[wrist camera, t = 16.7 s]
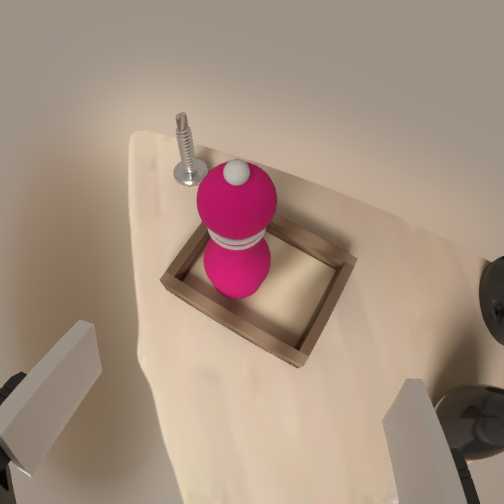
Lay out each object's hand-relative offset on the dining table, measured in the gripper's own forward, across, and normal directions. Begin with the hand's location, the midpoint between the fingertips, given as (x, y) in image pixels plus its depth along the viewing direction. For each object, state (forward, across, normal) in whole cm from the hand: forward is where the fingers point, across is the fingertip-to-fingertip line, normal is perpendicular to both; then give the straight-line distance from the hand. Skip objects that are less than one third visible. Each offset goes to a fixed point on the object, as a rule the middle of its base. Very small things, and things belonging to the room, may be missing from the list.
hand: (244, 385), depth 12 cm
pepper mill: (+25, -3, -7) cm, 27 cm away
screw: (+36, -12, +1) cm, 38 cm away
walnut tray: (+26, 0, -8) cm, 27 cm away
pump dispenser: (+15, +28, -20) cm, 37 cm away
